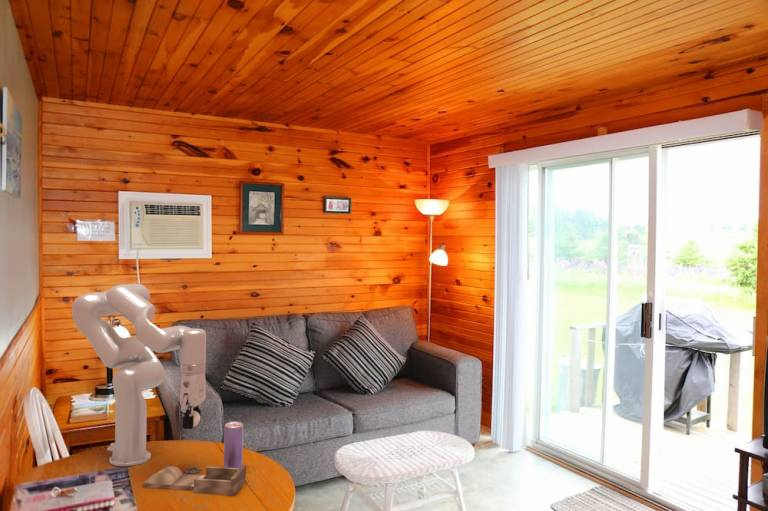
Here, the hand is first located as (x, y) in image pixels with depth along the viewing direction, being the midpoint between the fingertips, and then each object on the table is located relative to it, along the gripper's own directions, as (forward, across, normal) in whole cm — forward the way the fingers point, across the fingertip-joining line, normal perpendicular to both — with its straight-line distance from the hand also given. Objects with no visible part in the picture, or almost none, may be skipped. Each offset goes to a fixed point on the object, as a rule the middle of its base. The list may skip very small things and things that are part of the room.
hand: (191, 424), depth 180 cm
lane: (+19, -9, -5) cm, 22 cm away
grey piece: (+15, +1, 0) cm, 15 cm away
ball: (+1, 0, 0) cm, 1 cm away
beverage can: (+15, +3, -13) cm, 20 cm away
